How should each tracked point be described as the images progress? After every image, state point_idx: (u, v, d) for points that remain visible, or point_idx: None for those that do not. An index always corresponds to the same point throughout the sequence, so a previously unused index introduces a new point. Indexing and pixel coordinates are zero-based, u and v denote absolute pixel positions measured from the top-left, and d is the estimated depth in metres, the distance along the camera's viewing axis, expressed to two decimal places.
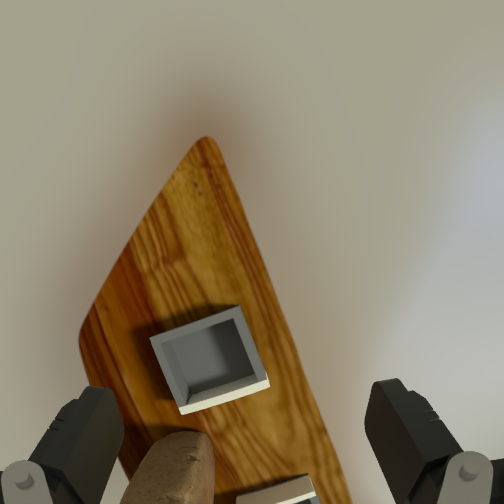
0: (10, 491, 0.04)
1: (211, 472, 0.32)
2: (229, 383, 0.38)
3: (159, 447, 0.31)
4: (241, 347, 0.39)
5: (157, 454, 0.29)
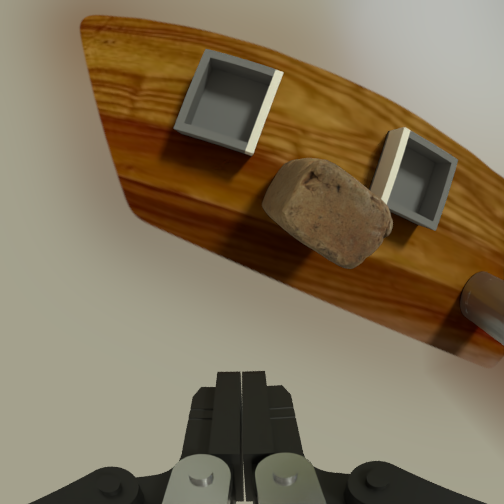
0: (193, 492, 0.05)
1: None
2: None
3: (266, 193, 0.36)
4: (240, 81, 0.38)
5: (269, 192, 0.34)
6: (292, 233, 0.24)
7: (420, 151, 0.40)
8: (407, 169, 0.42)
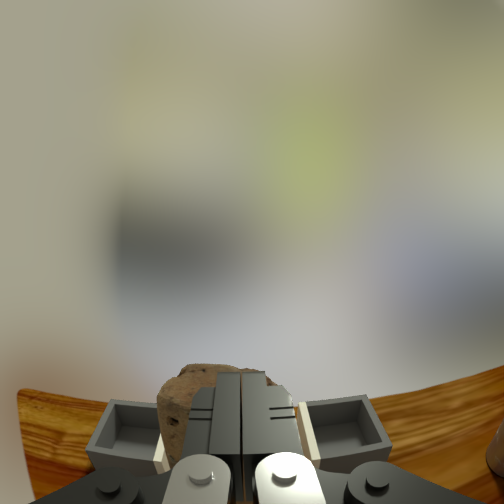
0: (192, 492, 0.05)
1: None
2: None
3: None
4: (146, 431, 0.39)
5: None
6: (169, 404, 0.21)
7: (333, 417, 0.40)
8: (333, 439, 0.38)
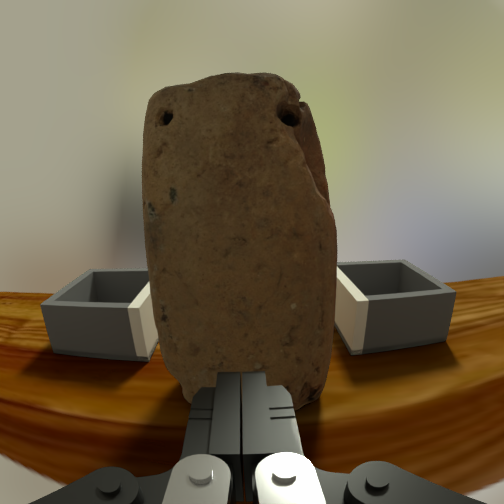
0: (192, 492, 0.05)
1: None
2: None
3: None
4: None
5: None
6: (164, 89, 0.15)
7: (368, 288, 0.34)
8: None
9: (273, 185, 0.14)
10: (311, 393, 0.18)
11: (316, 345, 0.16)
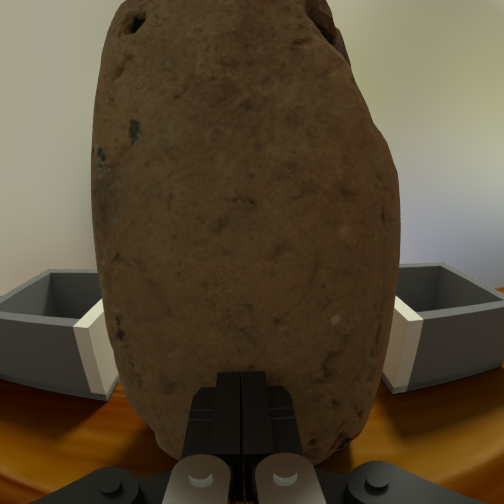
0: (192, 492, 0.05)
1: None
2: None
3: None
4: None
5: None
6: None
7: (401, 299, 0.26)
8: None
9: (304, 106, 0.08)
10: (343, 441, 0.12)
11: (365, 381, 0.10)
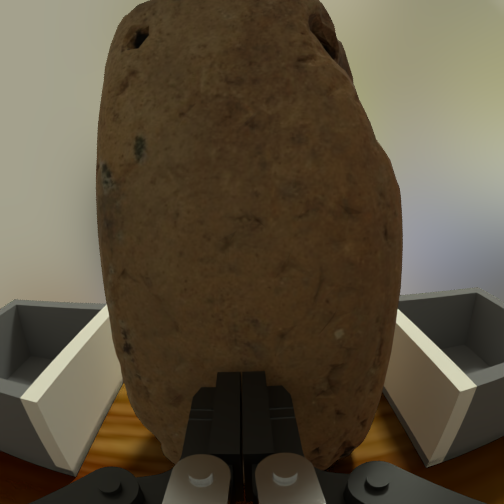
0: (193, 492, 0.05)
1: None
2: None
3: None
4: None
5: None
6: (140, 4, 0.08)
7: (431, 334, 0.20)
8: None
9: (308, 125, 0.08)
10: (346, 449, 0.12)
11: (367, 391, 0.10)
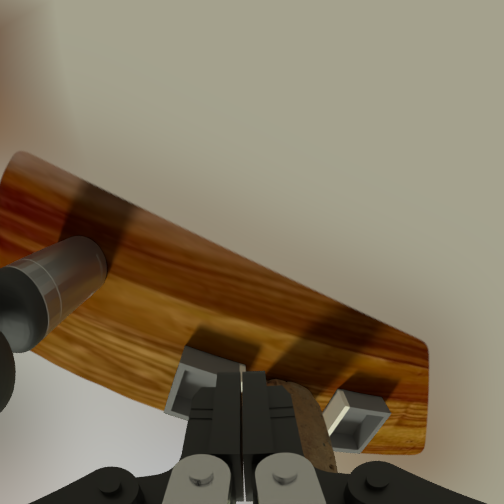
0: (192, 492, 0.05)
1: None
2: None
3: None
4: (336, 430, 0.53)
5: None
6: None
7: None
8: None
9: None
10: (268, 382, 0.48)
11: None
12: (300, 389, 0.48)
